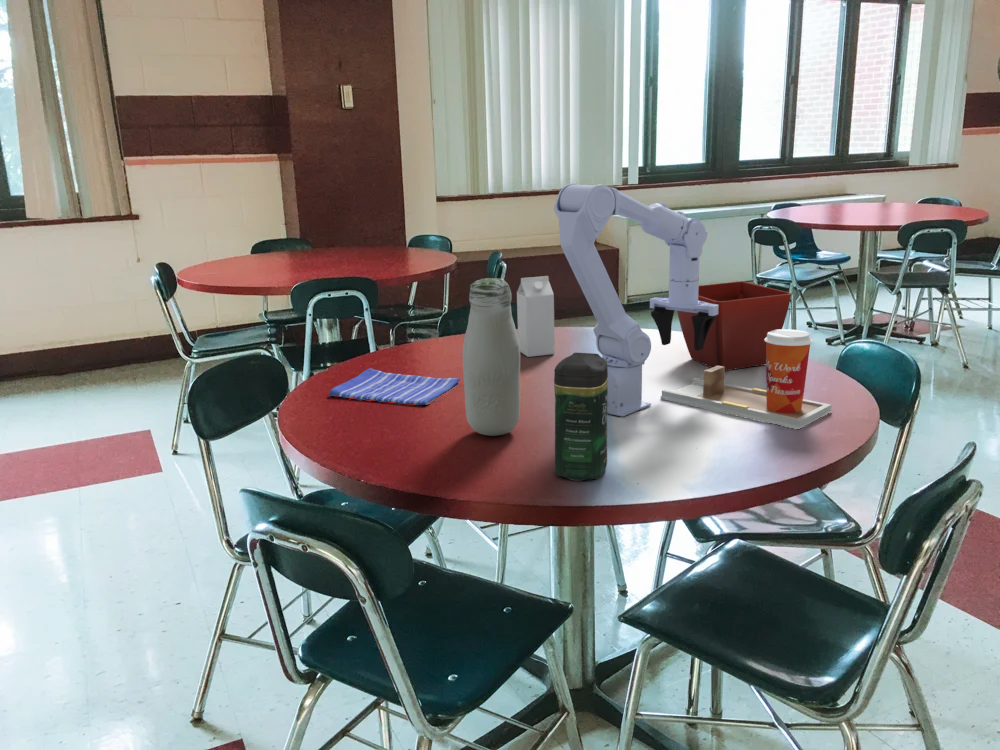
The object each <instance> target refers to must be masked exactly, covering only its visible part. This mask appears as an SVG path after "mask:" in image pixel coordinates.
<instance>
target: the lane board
mask: <svg viewBox="0 0 1000 750" xmlns="http://www.w3.org/2000/svg"><path fill="white" fill-rule="evenodd" d="M703 383H704V378H699V377H694V378H692V383H691V384H688V385H686V386H684V387H681V388H678V389H676V390H671V389H669V390H668V389H663V390H661V395H660V400H666V401H669V402H672V403H673V402H674V403H678V404H683V405H687V406H692V407H696V408H700V409H703V410H704V409H705V410H708V411H709V410H710V411H713V412H717V413H721V412H723V413H722V414H726V413H728V414H727V415H730V414H733V415H732V416H734V415H737V416H736V417H739V416H742V417H741V418H743V417H746V418H745V419H748V418H750V419H749V420H752V419H755V420H754V421H756V420H760V421H759V422H761V421H763V422H762V423H765V422H769V423H773V424H772V425H774V424H778V425H782V426H781V427H783V426H786V427H785V428H787V427H790V428H789V429H791V428H796V429H800V428H802V427H804V426H805V425H807V424H809V423H810V422H812V421H814V420H816V419H817V418H819V417H821V416H823V415H825V414H826V413H828V412H830V411H832V404H830V403H825V402H821V401H820V402H819V401H815V400H810V399H806V398H803V402H802V404H807V405H812V406H817V407H819V408H817V409H815V410H813V411H811V412H809V413H807V414H805V415H803V416H801V417H799V418H794V417H789V416H784V415H780V414H775V413H771V412H766V411H761V410H757V409H752V408H749V406H746V405H741V404H736V403H732V402H727V401H723V402H720V401H716V400H711V399H706V398H702V397H697V396H698V395H700V394H702V393H703ZM724 388H729V389H733V390H738V391H743V392H748V393H753V394H758V395H763V396H766V389H763V388H757V387H754V388H751V387H750V388H749V387H745V386H741V385H734V384H731V383H725V382H724ZM832 412H833V411H832ZM769 423H768V424H769ZM778 425H777V426H778ZM809 425H810V424H809ZM807 426H808V425H807ZM805 427H806V426H805ZM805 427H804V428H805ZM796 429H795V430H796ZM802 429H803V428H802ZM800 430H801V429H800Z"/></svg>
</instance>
